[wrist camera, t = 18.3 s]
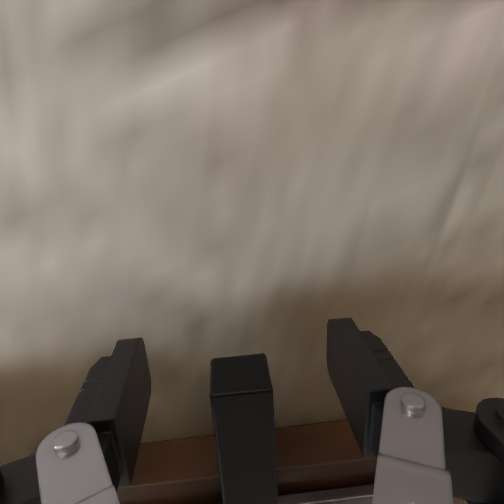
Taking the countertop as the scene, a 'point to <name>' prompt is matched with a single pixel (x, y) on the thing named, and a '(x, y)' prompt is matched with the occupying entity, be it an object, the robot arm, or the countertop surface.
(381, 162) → the countertop surface
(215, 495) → the stand
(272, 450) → the grey dustpan
